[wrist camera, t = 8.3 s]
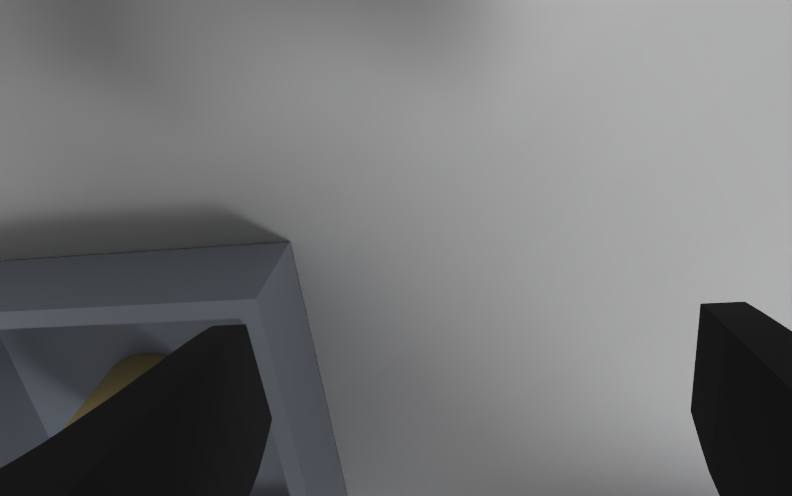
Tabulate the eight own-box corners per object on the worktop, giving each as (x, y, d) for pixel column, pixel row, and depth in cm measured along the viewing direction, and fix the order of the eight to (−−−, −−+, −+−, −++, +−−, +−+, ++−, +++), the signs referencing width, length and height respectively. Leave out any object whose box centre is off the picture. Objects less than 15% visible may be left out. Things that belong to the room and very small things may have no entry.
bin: (290, 241, 21) (256, 299, 17) (350, 508, 26) (331, 588, 23) (-38, 263, 22) (-120, 318, 19) (80, 506, 28) (30, 580, 25)
